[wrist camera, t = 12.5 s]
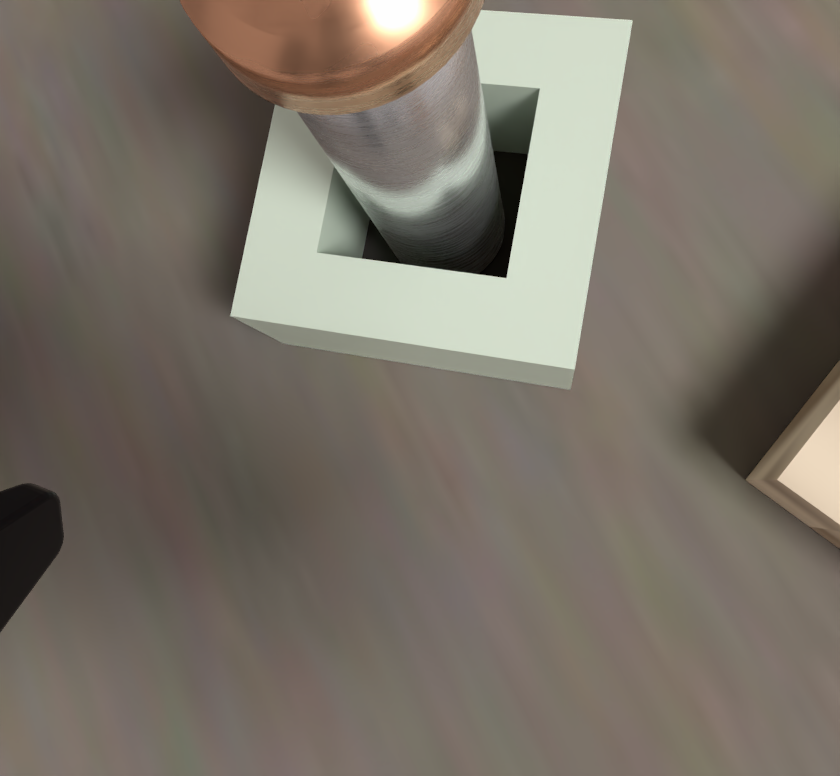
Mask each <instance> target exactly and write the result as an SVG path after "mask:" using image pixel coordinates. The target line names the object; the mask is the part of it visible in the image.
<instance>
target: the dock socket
mask: <svg viewBox="0 0 840 776" xmlns="http://www.w3.org/2000/svg"><path fill="white" fill-rule="evenodd" d="M632 21H633V20H621V19H606V18H591V17H576V16H561V15H546V14H531V13H516V12H501V11H486V10H481V11H480V14H479V16H478V18H477V20H476V22H475V24H474V26H473V28H472V35H473V41H474V46H475V52H476V58H477V63H478V69H479V75H480V80H481V86H482V92H483V97H484V103H485V109H486V114H487V120H488V125H489V131H490V137H491V142H492V148H493V151H501V152H511V153H521V154H528V159H527V165H526V170H525V176H524V182H523V187H522V193H521V198H520V204H519V210H518V215H517V221H516V227H515V232H514V238H513V244H512V249H511V255H510V261H509V266H508V272H507V278H502V277H494V276H487V275H479V274H472V273H465V272H457V271H450V270H442V269H435V268H428V267H420V266H413V265H405V264H398V263H391V262H383V261H376V260H368V259H362V256H363V251H364V246H365V241H366V236H367V231H368V226H369V221H370V218H369V216H368V215H367V213H366V212H365V210H364V209H363V207H362V206H361V204H360V203H359V201H358V200H357V199H356V197H355V196H354V194H353V193H352V191H351V190H350V188H349V187H348V185H347V184H346V183H345V181H344V180H343V178H342V177H341V175H340V174H339V172H338V171H337V169H336V168H335V167H334V165H333V164H332V162H331V161H330V159H329V158H328V156H327V155H326V153H325V152H324V151H323V149H322V148H321V146H320V145H319V143H318V142H317V140H316V139H315V137H314V136H313V135H312V133H311V132H310V130H309V129H308V127H307V126H306V124H305V123H304V121H303V120H302V119H301V117H300V116H299V114H298V113H297V111H293V110H289V109H286V108H283V107H280V106H278V105H276V104H275V107H274V111H273V116H272V121H271V126H270V130H269V135H268V140H267V145H266V149H265V154H264V159H263V163H262V168H261V173H260V178H259V182H258V187H257V192H256V197H255V201H254V206H253V211H252V215H251V220H250V225H249V230H248V234H247V239H246V244H245V249H244V253H243V258H242V263H241V267H240V272H239V277H238V282H237V286H236V291H235V296H234V300H233V305H232V310H231V315H230V316H231V317H233V318H235V319H237V320H239V321H241V322H243V323H245V324H247V325H249V326H251V327H252V328H254V329H256V330H258V331H260V332H262V333H264V334H266V335H268V336H270V337H272V338H273V339H275V340H277V341H279V342H281V343H283V344H289V345H295V346H301V347H307V348H313V349H320V350H326V351H332V352H338V353H345V354H351V355H357V356H363V357H369V358H376V359H382V360H388V361H394V362H400V363H407V364H413V365H419V366H425V367H432V368H438V369H444V370H450V371H456V372H463V373H469V374H475V375H481V376H487V377H494V378H500V379H506V380H512V381H518V382H525V383H531V384H537V385H543V386H550V387H556V388H562V389H568V390H570V389H571V384H572V380H573V375H574V370H575V364H576V358H577V352H578V346H579V340H580V334H581V328H582V322H583V316H584V310H585V304H586V298H587V292H588V286H589V280H590V274H591V268H592V262H593V256H594V250H595V244H596V238H597V232H598V225H599V219H600V213H601V207H602V201H603V195H604V189H605V183H606V177H607V171H608V165H609V159H610V153H611V147H612V141H613V135H614V129H615V123H616V117H617V111H618V105H619V99H620V93H621V87H622V81H623V75H624V69H625V63H626V57H627V51H628V45H629V39H630V33H631V27H632Z"/></svg>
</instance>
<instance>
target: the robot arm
mask: <svg viewBox="0 0 840 776" xmlns="http://www.w3.org/2000/svg"><path fill="white" fill-rule="evenodd" d="M63 538H64V533H63V524H62V515H61V506H60V500H59V497H58V496H57V494H56V493H54V492H52V491H50V490H47V489H45V488H42V487H40V486H38V485H35V484H30V483H27V484H21V485H18V486H15V487H12V488H9V489H6V490H3V491H1V492H0V632H1V631H2V629H3V628H4V627H5V625H6V624H7V623H8V621H9V620H10V618H11V617H12V616H13V614H14V613H15V612H16V610H17V609H18V608H19V606H20V605H21V604H22V602H23V601H24V599H25V598H26V597H27V595H28V594H29V593H30V591H31V590H32V589H33V587H34V586H35V585H36V583H37V582H38V580H39V579H40V578H41V576H42V575H43V574H44V572H45V571H46V570H47V568H48V567H49V565H50V564H51V563H52V561H53V560H54V559H55V557H56V556H57V554H58V553H59V551H60V549H61V546H62V543H63Z"/></svg>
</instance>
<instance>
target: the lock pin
mask: <svg viewBox="0 0 840 776" xmlns="http://www.w3.org/2000/svg"><path fill="white" fill-rule="evenodd" d="M180 2H181V4H182V6H183V8H184V10H185V12H186V13H187V15H188V16H189V18H190V19H191V21H192V22H193V24H194V25H195V26H196V27H197V29H198V30H199V31H200V33H201V34H202V35H203V36H204V38H205V39H206V40H207V42H208V43H209V44H210V45H211V47H212V48H213V49H214V51H215V52H216V53H217V54H218V56H219V57H220V58H221V59H222V61H223V62H224V63H225V65H226V66H227V67H228V68H229V70H230V71H231V72H232V73H233V74H234V75H235V76H236V77H237V79H238V80H239V81H240V82H241V83H243V84H244V85H245V86H246V87H247V88H249V89H250V90H251V91H252V92H254V93H255V94H257V95H258V96H260V97H262V98H263V99H265V100H267V101H269V102H271V103H273V104H276V105H278V106H280V107H283V108H286V109H289V110H293V111H297V113H298V114H299V116H300V117H301V119H302V120H303V121H304V123H305V124H306V126H307V127H308V129H309V130H310V132H311V133H312V135H313V136H314V137H315V139H316V140H317V142H318V143H319V145H320V146H321V148H322V149H323V151H324V152H325V153H326V155H327V156H328V158H329V159H330V161H331V162H332V164H333V165H334V167H335V168H336V169H337V171H338V172H339V174H340V175H341V177H342V178H343V180H344V181H345V183H346V184H347V185H348V187H349V188H350V190H351V191H352V193H353V194H354V196H355V197H356V199H357V200H358V201H359V203H360V204H361V206H362V207H363V209H364V210H365V212H366V213H367V215H368V216H369V218H370V219H371V220H372V222H373V223H374V225H375V226H376V228H377V229H378V231H379V232H380V234H381V235H382V236H383V238H384V239H385V241H386V242H387V244H388V245H389V247H390V248H391V250H392V251H393V252H394V254H395V255H396V257H397V258H398V260H399V261H400V263H401V264H405V265H413V266H420V267H428V268H435V269H442V270H450V271H457V272H465V273H472V274H479V273H480V272H482V271H483V270H484V269H485V268H486V267H487V266H488V265H489V264H490V263H491V262H492V261H493V259H494V258H495V256H496V255H497V253H498V251H499V249H500V247H501V245H502V242H503V239H504V234H505V216H504V210H503V205H502V199H501V193H500V188H499V182H498V176H497V171H496V165H495V159H494V154H493V148H492V142H491V137H490V131H489V125H488V120H487V114H486V109H485V103H484V97H483V92H482V86H481V80H480V75H479V69H478V63H477V58H476V52H475V46H474V41H473V35H472V28H473V26H474V24H475V22H476V20H477V18H478V16H479V14H480V11H481V8H482V6H483V3H484V0H180Z"/></svg>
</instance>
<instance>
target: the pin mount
mask: <svg viewBox="0 0 840 776" xmlns="http://www.w3.org/2000/svg"><path fill="white" fill-rule="evenodd" d="M746 481H747V482H749V483H750V484H751V485H753V486H754V487H755V488H757V489H758V490H760V491H761V492H762V493H764V494H765V495H766V496H768V497H769V498H771V499H772V500H773V501H775V502H776V503H777V504H779V505H780V506H781V507H783V508H784V509H786V510H787V511H788V512H790V513H791V514H792V515H794V516H795V517H797V518H798V519H799V520H801V521H802V522H803V523H805V524H806V525H808V526H809V527H810V528H812V529H813V530H814V531H816V532H817V533H819V534H820V535H821V536H823V537H824V538H825V539H827V540H828V541H829V542H831V543H832V544H834V545H835V546H836V547H838V548H839V549H840V360H839V361H838V363H837V364H836V365H835V366H834V368H833V369H832V370H831V371H830V373H829V374H828V375H827V377H826V378H825V379H824V380H823V382H822V383H821V384H820V385H819V387H818V388H817V389H816V391H815V392H814V393H813V394H812V396H811V397H810V398H809V400H808V401H807V402H806V403H805V405H804V406H803V407H802V408H801V410H800V411H799V412H798V414H797V415H796V416H795V417H794V419H793V420H792V421H791V422H790V424H789V425H788V426H787V428H786V429H785V430H784V431H783V433H782V434H781V435H780V436H779V438H778V439H777V440H776V442H775V443H774V444H773V445H772V447H771V448H770V449H769V450H768V452H767V453H766V454H765V456H764V457H763V458H762V459H761V461H760V462H759V463H758V464H757V466H756V467H755V468H754V470H753V471H752V472H751V473H750V475H749V476H748V477H747V479H746Z"/></svg>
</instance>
